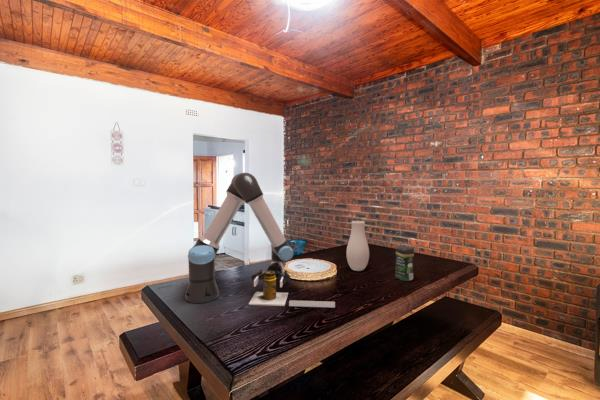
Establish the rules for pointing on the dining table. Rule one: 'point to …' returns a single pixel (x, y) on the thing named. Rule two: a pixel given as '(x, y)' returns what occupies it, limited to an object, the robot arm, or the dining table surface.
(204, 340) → the dining table surface
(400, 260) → the coffee jar
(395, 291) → the dining table surface
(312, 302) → the bar
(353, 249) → the vase
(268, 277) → the condiment
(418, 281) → the dining table surface
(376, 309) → the dining table surface
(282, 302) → the mat
